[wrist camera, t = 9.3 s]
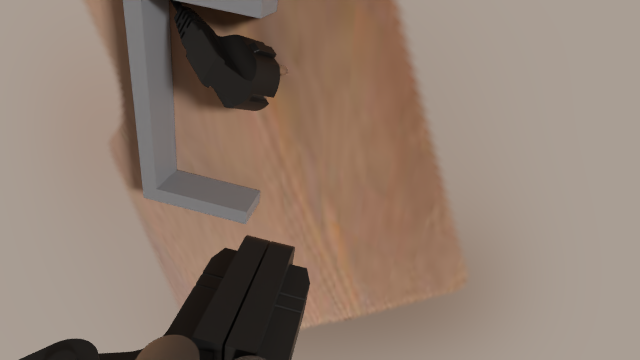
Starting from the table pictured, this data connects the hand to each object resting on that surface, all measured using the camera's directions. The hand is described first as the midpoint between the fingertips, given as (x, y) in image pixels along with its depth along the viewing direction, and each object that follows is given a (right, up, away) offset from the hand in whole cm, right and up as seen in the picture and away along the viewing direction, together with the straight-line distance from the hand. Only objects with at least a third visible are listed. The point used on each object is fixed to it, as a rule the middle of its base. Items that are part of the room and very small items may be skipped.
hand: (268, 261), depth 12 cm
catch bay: (-8, +10, +25) cm, 28 cm away
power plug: (-6, +15, +22) cm, 27 cm away
